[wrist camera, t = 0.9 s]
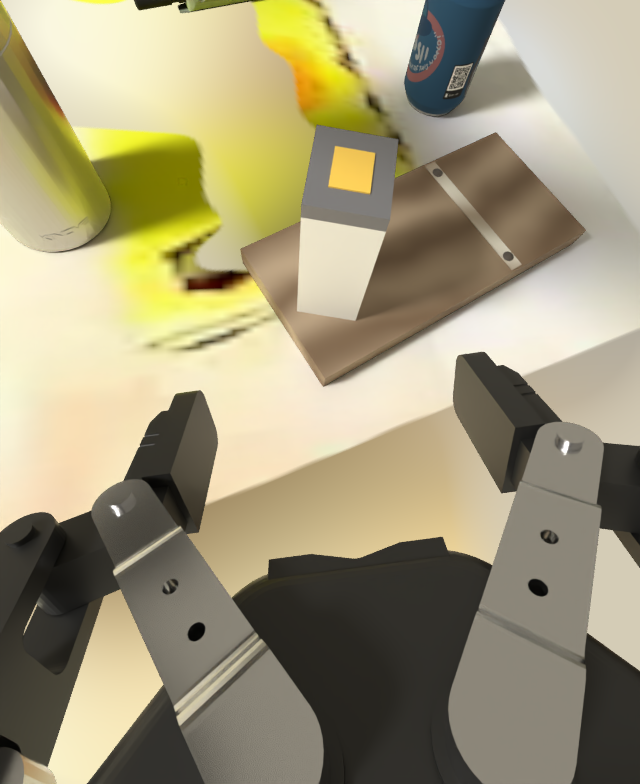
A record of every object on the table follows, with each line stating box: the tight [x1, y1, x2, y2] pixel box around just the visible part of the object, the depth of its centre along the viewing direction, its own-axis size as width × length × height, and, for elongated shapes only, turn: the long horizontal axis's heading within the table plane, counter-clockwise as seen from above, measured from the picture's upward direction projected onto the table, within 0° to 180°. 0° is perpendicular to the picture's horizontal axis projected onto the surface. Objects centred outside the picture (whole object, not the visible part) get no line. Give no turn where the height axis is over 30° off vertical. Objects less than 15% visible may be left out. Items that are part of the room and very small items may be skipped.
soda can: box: [404, 0, 505, 116], centre depth 39 cm, size 7×7×12 cm
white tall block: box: [297, 125, 399, 321], centre depth 29 cm, size 5×6×12 cm
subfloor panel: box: [241, 133, 586, 386], centre depth 37 cm, size 14×30×2 cm, turn 122°
